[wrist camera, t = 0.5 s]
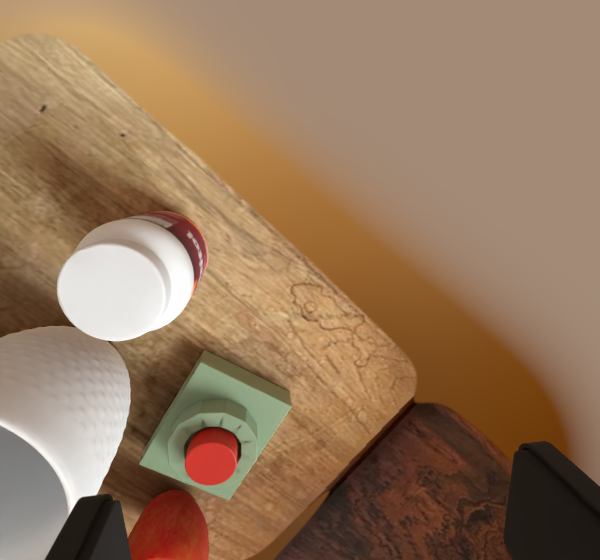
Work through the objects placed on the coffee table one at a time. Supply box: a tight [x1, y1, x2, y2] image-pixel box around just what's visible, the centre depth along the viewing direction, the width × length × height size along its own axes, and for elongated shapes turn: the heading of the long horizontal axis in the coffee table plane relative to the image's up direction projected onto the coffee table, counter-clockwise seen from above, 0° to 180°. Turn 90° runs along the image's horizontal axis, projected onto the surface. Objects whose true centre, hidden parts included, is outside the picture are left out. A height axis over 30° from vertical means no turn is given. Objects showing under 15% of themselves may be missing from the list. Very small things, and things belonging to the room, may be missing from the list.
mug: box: [0, 326, 131, 560], centre depth 23 cm, size 15×11×13 cm
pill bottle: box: [57, 211, 208, 341], centre depth 22 cm, size 6×6×11 cm
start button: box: [185, 427, 238, 485], centre depth 27 cm, size 4×4×2 cm
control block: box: [139, 350, 292, 500], centre depth 29 cm, size 10×8×4 cm
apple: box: [128, 489, 209, 560], centre depth 29 cm, size 6×6×8 cm
